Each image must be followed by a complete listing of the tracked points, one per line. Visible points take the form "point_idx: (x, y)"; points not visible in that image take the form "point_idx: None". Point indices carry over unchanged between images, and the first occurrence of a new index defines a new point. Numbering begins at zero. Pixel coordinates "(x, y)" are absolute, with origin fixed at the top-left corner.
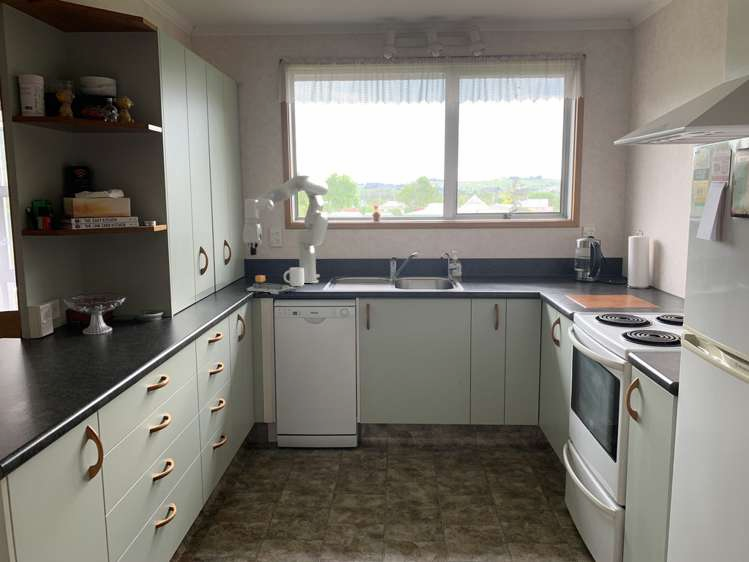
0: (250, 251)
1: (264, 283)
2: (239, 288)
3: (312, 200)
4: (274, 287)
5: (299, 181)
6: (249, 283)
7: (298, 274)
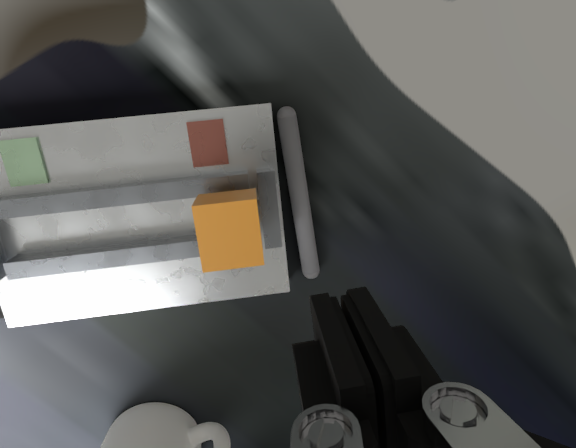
0: (385, 320)
1: None
2: (422, 174)
3: None
4: (49, 193)
5: None
6: (495, 347)
7: None
